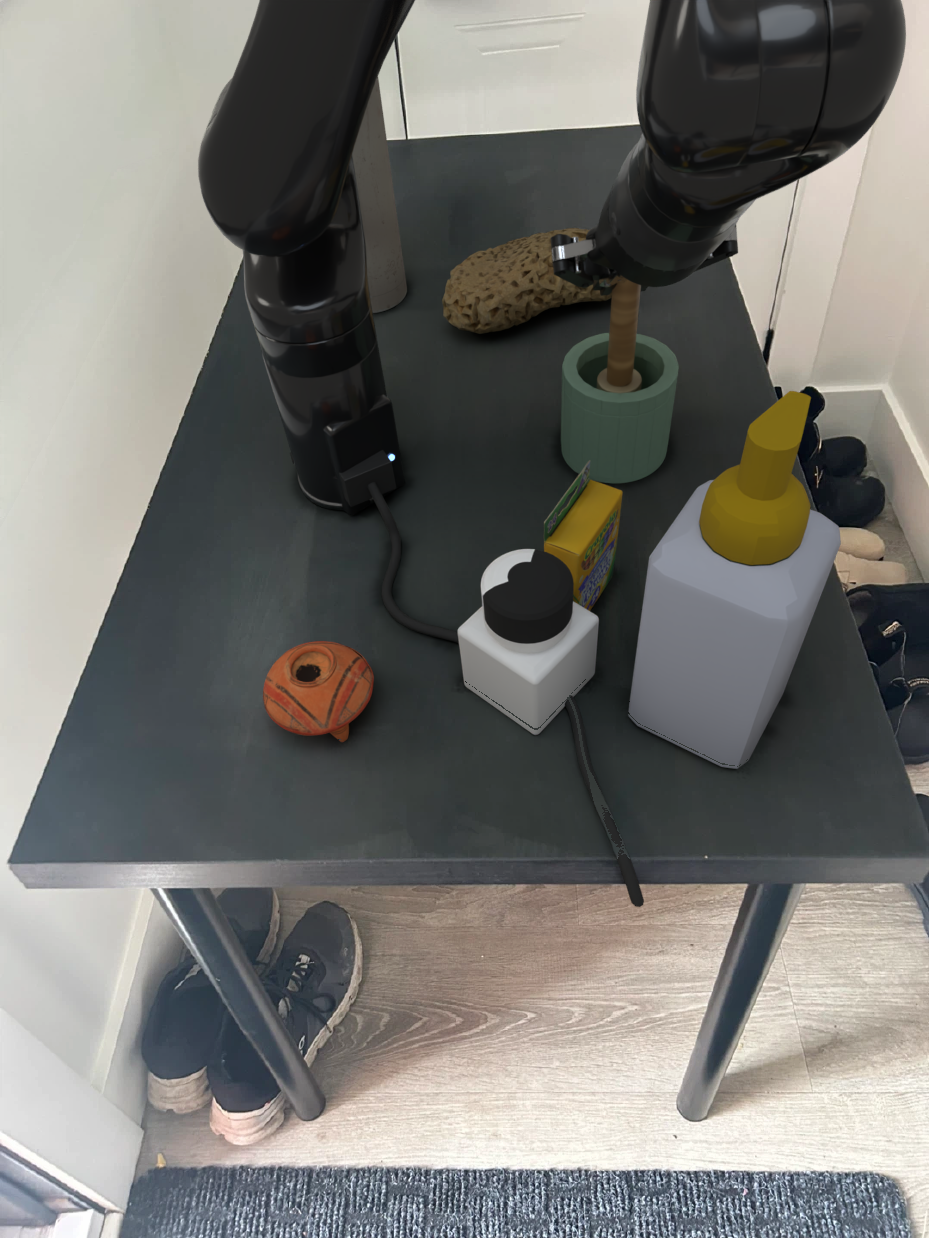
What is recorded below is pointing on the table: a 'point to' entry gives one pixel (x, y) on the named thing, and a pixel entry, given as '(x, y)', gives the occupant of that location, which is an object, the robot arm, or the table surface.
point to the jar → (617, 411)
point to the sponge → (510, 285)
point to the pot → (318, 689)
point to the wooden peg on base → (622, 341)
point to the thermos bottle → (378, 209)
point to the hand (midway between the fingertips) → (620, 280)
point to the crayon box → (586, 535)
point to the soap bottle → (733, 597)
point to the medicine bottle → (528, 638)
